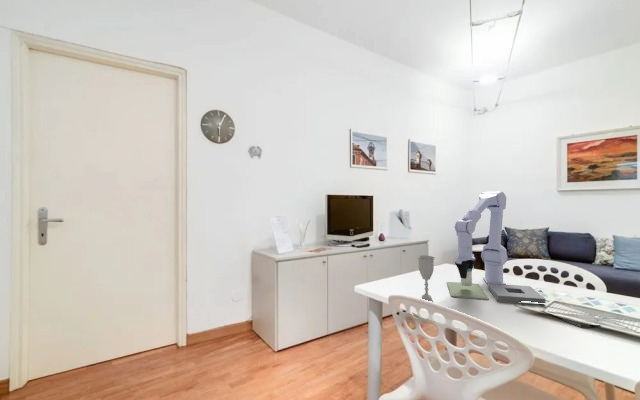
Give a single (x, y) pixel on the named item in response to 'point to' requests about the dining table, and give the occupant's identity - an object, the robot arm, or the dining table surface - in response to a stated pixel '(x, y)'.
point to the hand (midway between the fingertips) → (465, 277)
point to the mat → (466, 291)
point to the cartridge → (467, 278)
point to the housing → (515, 293)
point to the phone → (577, 323)
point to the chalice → (426, 272)
